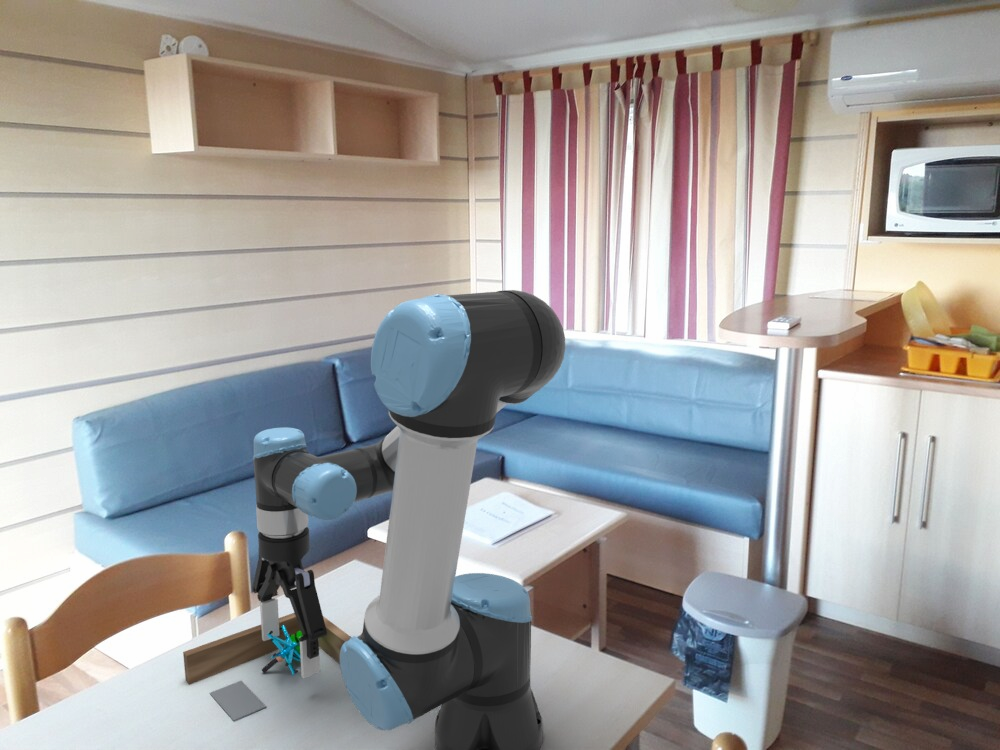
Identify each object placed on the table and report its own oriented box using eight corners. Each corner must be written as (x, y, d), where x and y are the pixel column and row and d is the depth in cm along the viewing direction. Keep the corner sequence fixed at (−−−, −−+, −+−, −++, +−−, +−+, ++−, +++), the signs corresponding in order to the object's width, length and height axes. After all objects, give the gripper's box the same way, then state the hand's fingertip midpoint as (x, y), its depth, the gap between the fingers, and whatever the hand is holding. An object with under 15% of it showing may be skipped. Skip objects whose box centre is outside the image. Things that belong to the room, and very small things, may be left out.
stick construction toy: (296, 669, 119) (269, 627, 122) (263, 697, 120) (236, 655, 122) (330, 654, 131) (305, 616, 133) (299, 681, 131) (274, 642, 133)
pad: (266, 707, 116) (266, 706, 116) (233, 721, 113) (233, 720, 113) (241, 681, 123) (241, 680, 123) (209, 694, 120) (209, 692, 119)
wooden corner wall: (360, 671, 125) (358, 642, 124) (226, 729, 111) (224, 697, 110) (312, 633, 137) (310, 606, 136) (185, 681, 123) (183, 652, 122)
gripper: (347, 548, 112) (351, 681, 117) (270, 500, 130) (276, 616, 135) (299, 563, 107) (306, 701, 112) (226, 511, 126) (234, 631, 130)
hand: (290, 655), depth 123 cm, fingers open, 13 cm apart
